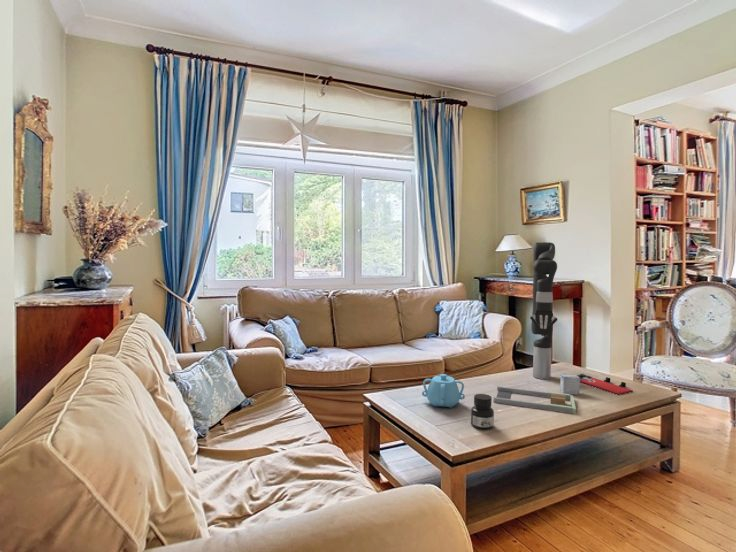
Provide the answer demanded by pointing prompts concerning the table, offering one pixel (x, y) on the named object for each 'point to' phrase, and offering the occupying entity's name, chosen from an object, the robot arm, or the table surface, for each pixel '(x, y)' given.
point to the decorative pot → (443, 391)
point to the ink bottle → (482, 412)
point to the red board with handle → (604, 384)
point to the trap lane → (505, 394)
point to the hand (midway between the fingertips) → (543, 335)
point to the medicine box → (570, 384)
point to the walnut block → (557, 399)
